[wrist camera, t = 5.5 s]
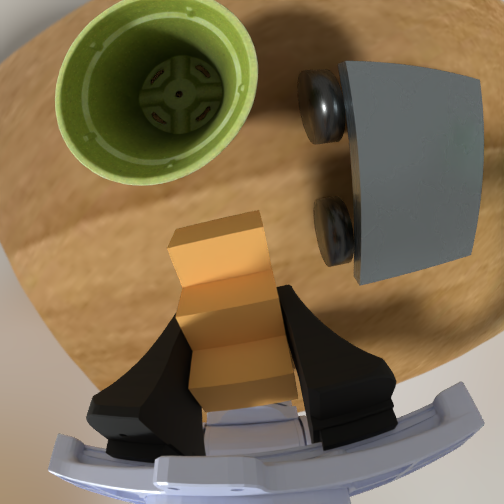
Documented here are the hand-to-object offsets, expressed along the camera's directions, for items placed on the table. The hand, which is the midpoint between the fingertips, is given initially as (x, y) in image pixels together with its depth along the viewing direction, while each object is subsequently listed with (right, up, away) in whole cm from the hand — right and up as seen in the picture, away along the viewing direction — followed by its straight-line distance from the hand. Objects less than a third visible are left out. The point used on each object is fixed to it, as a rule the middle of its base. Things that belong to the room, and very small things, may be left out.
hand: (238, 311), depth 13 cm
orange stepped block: (0, +2, +1) cm, 2 cm away
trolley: (+12, +11, +6) cm, 17 cm away
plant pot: (-4, +14, +4) cm, 15 cm away
